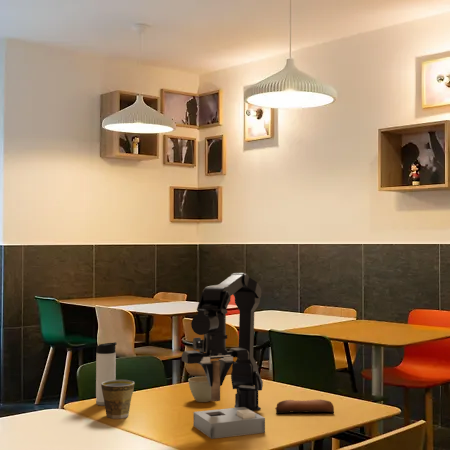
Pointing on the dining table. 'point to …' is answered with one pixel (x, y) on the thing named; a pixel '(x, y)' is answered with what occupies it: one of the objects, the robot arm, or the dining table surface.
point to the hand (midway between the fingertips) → (215, 385)
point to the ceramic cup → (117, 397)
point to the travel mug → (104, 368)
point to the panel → (227, 423)
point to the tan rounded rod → (216, 381)
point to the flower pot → (200, 389)
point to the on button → (245, 414)
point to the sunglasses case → (304, 406)
